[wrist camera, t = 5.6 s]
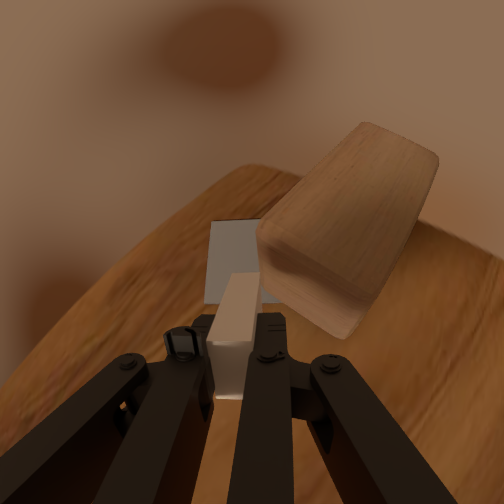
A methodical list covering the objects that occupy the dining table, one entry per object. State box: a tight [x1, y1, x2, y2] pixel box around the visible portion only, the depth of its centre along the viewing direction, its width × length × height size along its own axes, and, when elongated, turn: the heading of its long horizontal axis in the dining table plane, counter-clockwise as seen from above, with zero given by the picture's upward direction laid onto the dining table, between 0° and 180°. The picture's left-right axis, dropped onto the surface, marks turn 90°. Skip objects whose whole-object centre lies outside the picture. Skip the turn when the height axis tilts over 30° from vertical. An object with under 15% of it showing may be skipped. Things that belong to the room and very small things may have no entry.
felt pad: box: [204, 219, 283, 304], centre depth 31 cm, size 12×10×1 cm
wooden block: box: [255, 122, 439, 340], centre depth 26 cm, size 10×10×20 cm
